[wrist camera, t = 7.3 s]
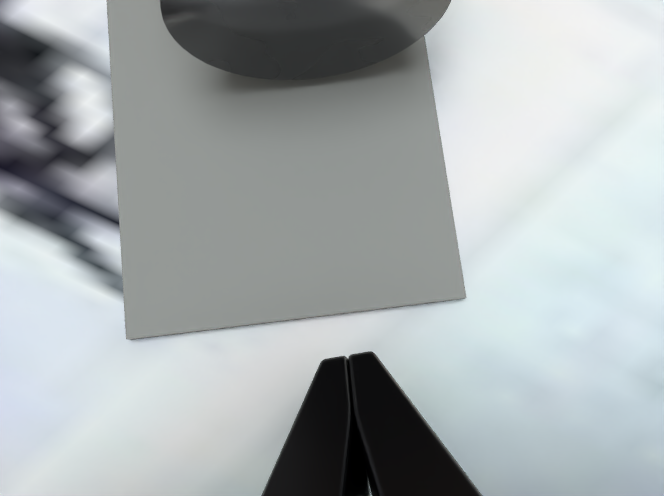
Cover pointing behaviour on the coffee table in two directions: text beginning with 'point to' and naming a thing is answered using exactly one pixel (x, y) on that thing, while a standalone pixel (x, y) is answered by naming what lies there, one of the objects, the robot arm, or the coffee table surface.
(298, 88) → the mat
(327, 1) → the plunger
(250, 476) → the coffee table surface
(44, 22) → the coffee table surface
